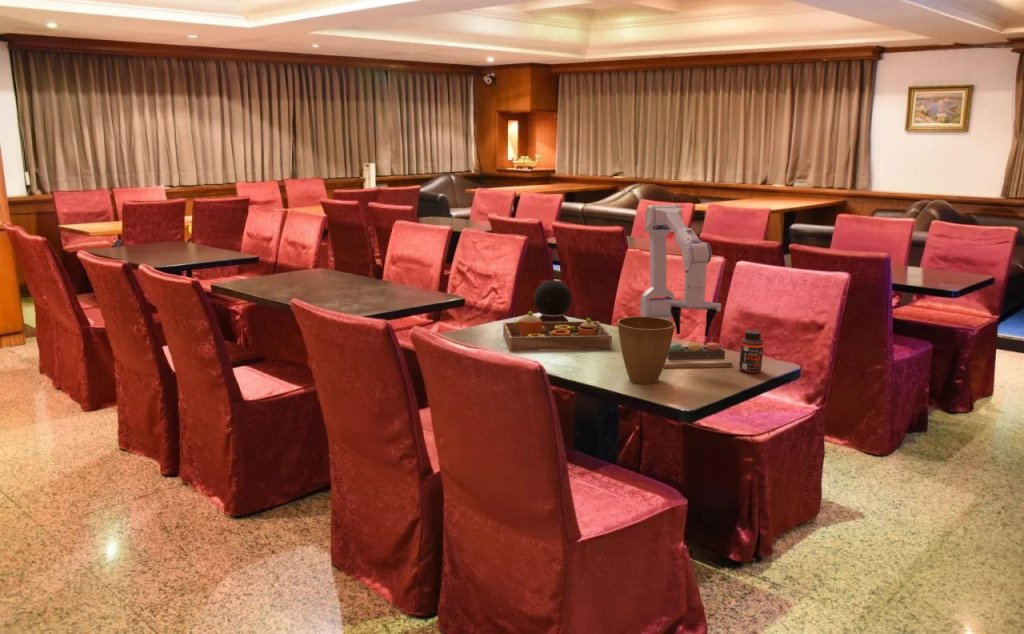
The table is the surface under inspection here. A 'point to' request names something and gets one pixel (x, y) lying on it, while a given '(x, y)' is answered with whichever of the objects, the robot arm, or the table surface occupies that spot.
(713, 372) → the table surface
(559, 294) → the dark fuzzy ball
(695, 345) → the ochre button
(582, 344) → the tea set tray rim
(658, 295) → the robot arm
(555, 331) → the toy tea set
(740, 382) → the table surface
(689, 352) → the button board
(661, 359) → the plant pot
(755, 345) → the supplement bottle
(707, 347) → the brick button
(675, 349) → the teal button
